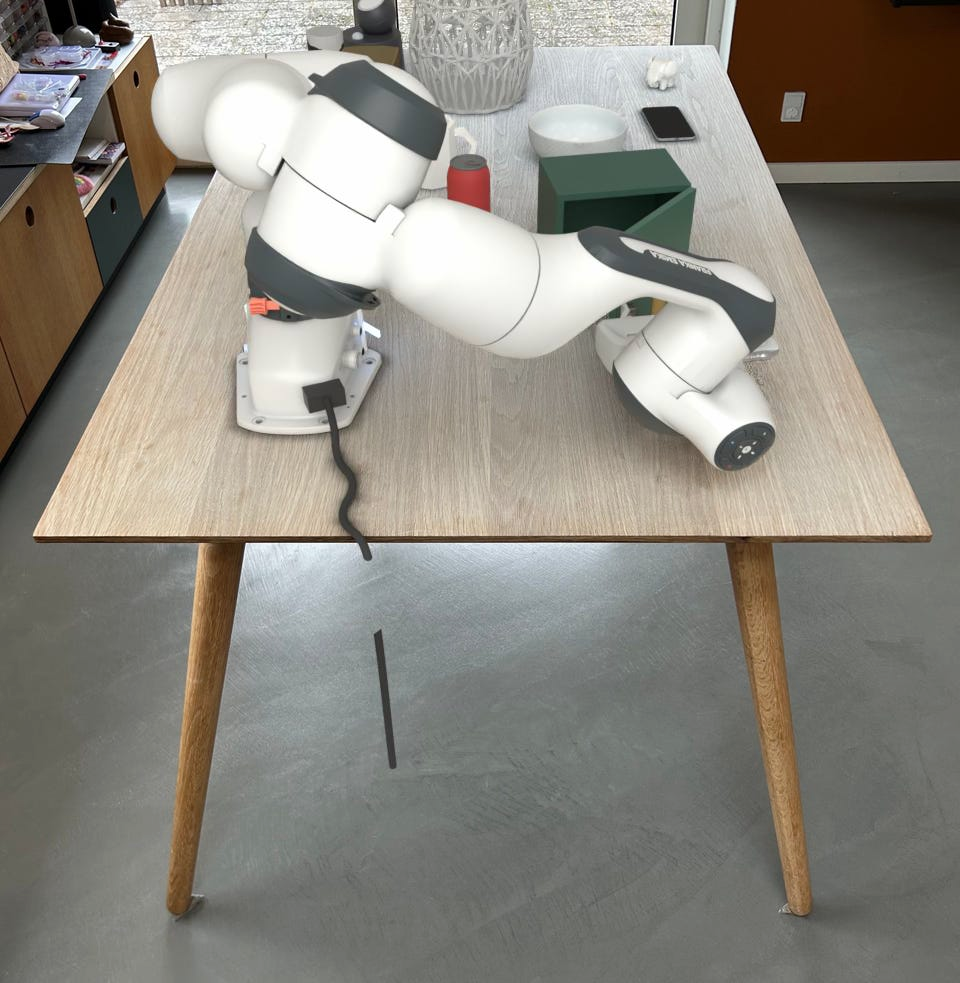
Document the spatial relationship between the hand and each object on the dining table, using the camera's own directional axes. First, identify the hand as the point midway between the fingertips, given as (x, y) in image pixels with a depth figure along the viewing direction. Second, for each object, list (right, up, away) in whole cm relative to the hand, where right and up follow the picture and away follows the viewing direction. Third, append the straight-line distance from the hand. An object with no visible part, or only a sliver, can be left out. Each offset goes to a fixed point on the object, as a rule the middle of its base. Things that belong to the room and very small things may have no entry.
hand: (663, 304), depth 130 cm
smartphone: (+12, +45, +66) cm, 81 cm away
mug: (-29, +30, +49) cm, 65 cm away
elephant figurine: (+14, +58, +81) cm, 101 cm away
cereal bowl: (-6, +35, +54) cm, 65 cm away
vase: (-24, +56, +79) cm, 99 cm away
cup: (-52, +50, +73) cm, 103 cm away
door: (+2, -2, +10) cm, 11 cm away
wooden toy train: (-47, +39, +59) cm, 85 cm away
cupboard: (-5, +7, +21) cm, 23 cm away
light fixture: (-45, +62, +87) cm, 116 cm away
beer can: (-24, +17, +33) cm, 44 cm away
